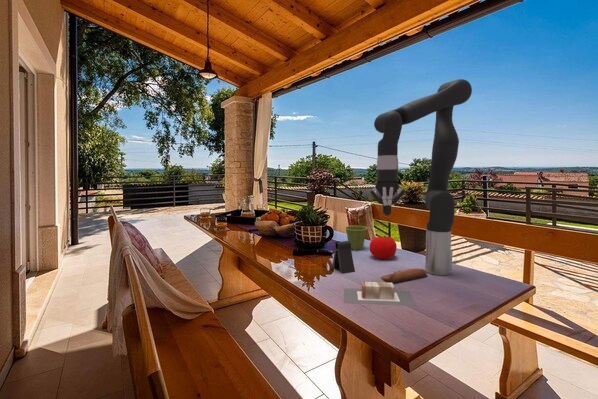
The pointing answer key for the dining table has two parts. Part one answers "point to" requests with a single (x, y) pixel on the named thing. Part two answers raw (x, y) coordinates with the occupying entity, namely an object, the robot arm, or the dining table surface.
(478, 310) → the dining table surface
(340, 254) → the phone stand
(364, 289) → the ash block
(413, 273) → the sunglasses case
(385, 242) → the tomato
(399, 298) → the rubber mat
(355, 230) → the plant pot
